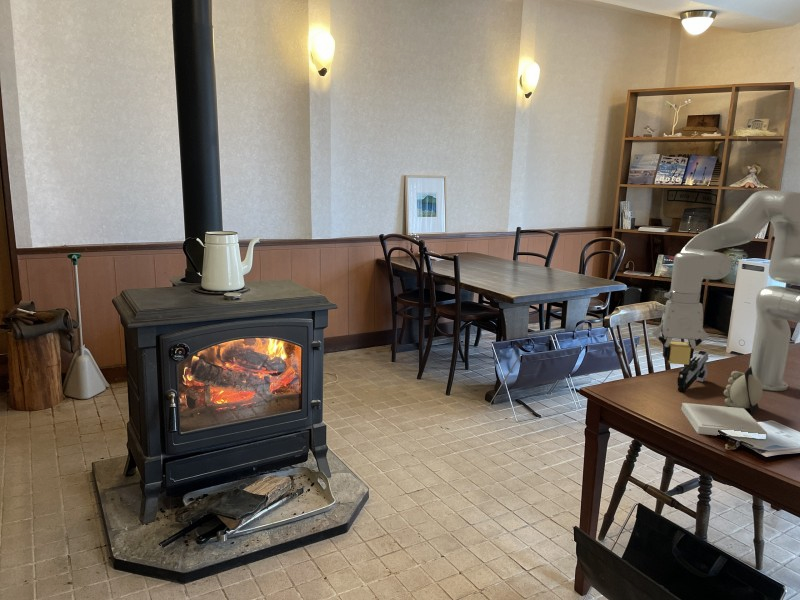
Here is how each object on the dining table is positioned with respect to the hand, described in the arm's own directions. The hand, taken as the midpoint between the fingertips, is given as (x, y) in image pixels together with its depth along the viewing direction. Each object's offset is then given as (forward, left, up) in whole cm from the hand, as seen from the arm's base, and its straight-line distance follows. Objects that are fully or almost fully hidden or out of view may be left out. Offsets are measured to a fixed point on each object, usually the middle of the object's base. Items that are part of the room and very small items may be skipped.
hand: (677, 359), depth 170 cm
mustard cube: (0, 0, -1) cm, 1 cm away
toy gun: (-17, +10, -14) cm, 24 cm away
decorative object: (-1, +19, -14) cm, 23 cm away
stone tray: (+12, +10, -13) cm, 21 cm away
